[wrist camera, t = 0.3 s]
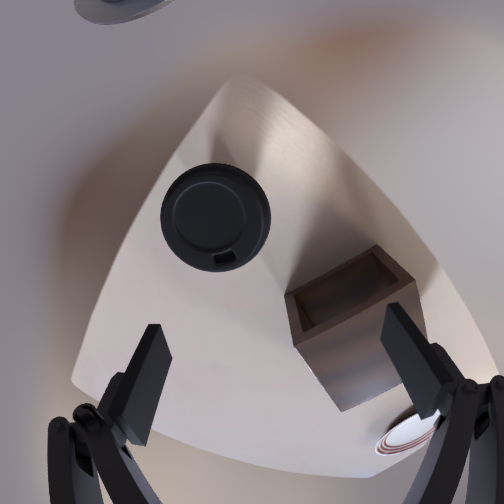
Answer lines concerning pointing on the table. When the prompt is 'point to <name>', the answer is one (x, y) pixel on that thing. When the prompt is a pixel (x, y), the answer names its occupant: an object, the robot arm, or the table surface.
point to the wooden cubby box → (352, 325)
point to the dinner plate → (407, 435)
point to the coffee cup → (215, 217)
